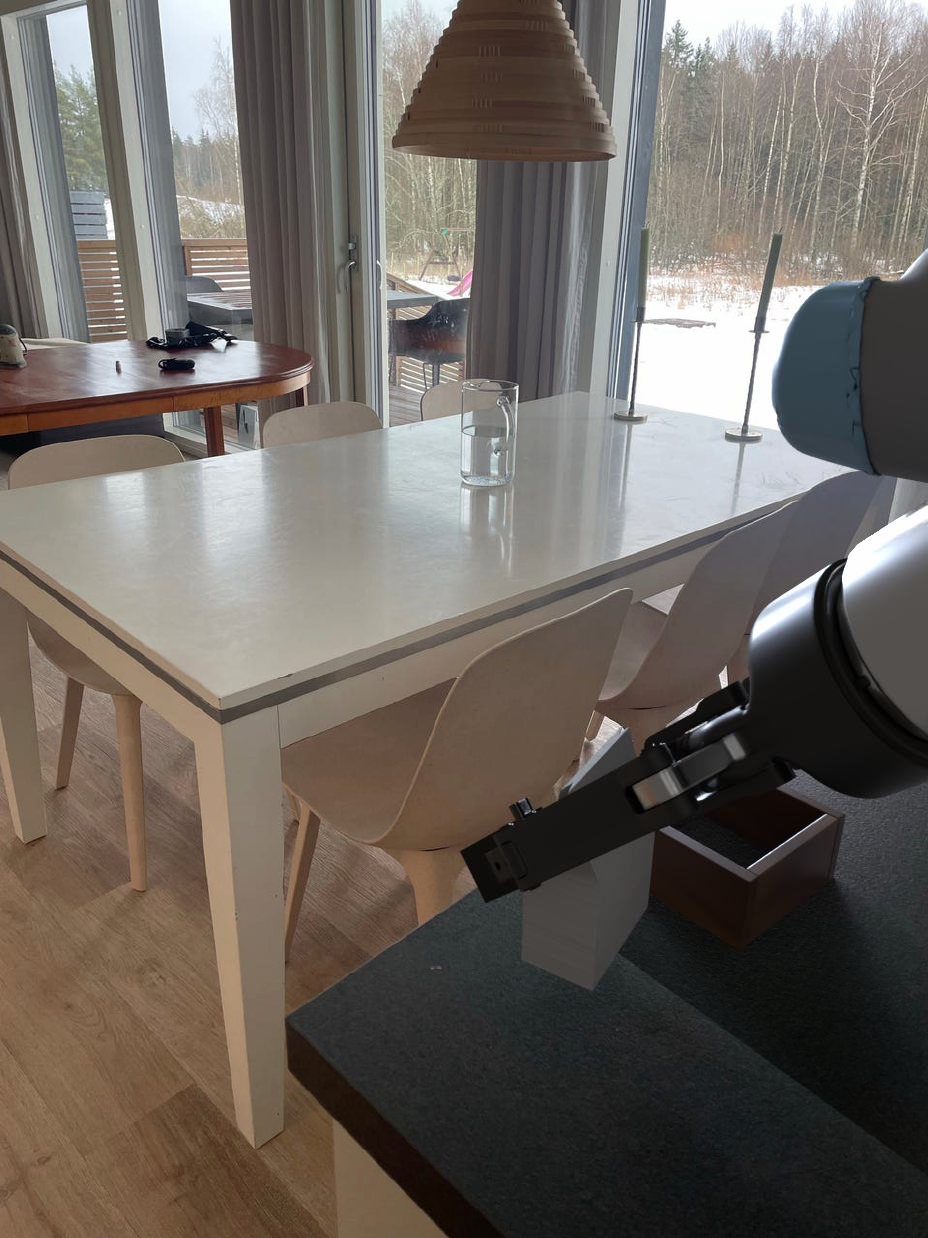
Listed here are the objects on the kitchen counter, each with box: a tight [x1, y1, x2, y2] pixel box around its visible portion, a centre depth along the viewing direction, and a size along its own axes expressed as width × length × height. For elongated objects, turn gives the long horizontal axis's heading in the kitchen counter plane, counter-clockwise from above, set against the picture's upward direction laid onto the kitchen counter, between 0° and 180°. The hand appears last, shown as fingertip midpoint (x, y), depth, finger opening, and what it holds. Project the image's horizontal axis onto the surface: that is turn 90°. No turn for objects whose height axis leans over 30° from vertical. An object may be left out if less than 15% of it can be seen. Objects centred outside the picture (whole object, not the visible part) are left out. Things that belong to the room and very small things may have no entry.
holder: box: [649, 784, 846, 951], centre depth 55 cm, size 10×10×6 cm
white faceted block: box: [520, 724, 655, 992], centre depth 44 cm, size 4×7×10 cm, turn 148°
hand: (540, 840), depth 47 cm, fingers closed on white faceted block, 8 cm apart
